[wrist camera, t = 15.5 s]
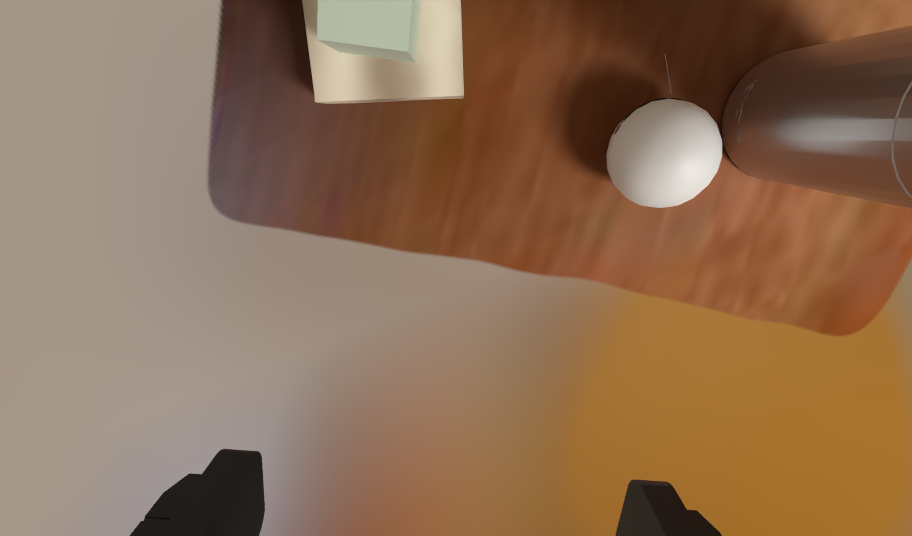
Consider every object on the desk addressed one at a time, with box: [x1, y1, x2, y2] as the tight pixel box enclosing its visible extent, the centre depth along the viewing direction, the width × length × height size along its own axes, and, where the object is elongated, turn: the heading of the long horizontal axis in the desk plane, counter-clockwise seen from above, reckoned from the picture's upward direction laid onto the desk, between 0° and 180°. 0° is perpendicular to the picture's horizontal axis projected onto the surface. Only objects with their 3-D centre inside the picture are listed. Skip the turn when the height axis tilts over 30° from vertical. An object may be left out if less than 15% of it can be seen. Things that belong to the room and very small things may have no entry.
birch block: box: [302, 0, 464, 104], centre depth 31 cm, size 10×10×4 cm
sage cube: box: [317, 0, 421, 63], centre depth 26 cm, size 5×5×5 cm
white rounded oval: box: [606, 53, 722, 208], centre depth 31 cm, size 10×7×7 cm
